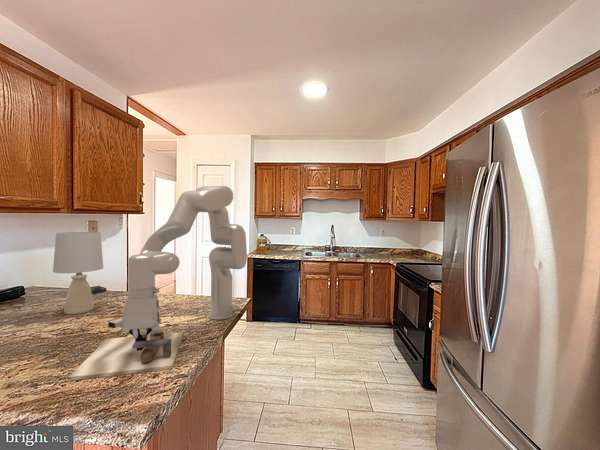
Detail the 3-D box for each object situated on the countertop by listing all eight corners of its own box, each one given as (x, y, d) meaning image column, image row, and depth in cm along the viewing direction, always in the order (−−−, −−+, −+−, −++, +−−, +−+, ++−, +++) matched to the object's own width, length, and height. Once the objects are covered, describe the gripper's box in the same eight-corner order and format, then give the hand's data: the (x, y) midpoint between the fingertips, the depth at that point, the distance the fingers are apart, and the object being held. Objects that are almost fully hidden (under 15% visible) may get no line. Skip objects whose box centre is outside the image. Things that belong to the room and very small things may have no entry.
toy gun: (140, 325, 109) (162, 314, 121) (107, 321, 113) (131, 310, 125) (140, 333, 110) (162, 321, 121) (107, 329, 114) (131, 317, 125)
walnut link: (151, 337, 101) (151, 331, 101) (165, 336, 102) (165, 330, 102) (137, 363, 83) (137, 357, 83) (153, 361, 84) (153, 355, 84)
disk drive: (99, 290, 172) (69, 295, 159) (99, 285, 172) (69, 290, 159) (106, 292, 166) (76, 298, 153) (106, 288, 166) (76, 293, 153)
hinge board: (183, 334, 107) (183, 319, 107) (171, 368, 83) (172, 348, 83) (105, 341, 100) (105, 325, 100) (68, 380, 76) (68, 359, 76)
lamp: (43, 313, 127) (43, 232, 126) (87, 302, 144) (87, 231, 144) (68, 320, 120) (68, 234, 119) (112, 307, 137) (112, 232, 137)
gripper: (169, 288, 96) (168, 341, 96) (120, 290, 92) (119, 345, 93) (163, 294, 89) (163, 352, 89) (110, 296, 85) (110, 356, 85)
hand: (141, 348), depth 91 cm, fingers closed
